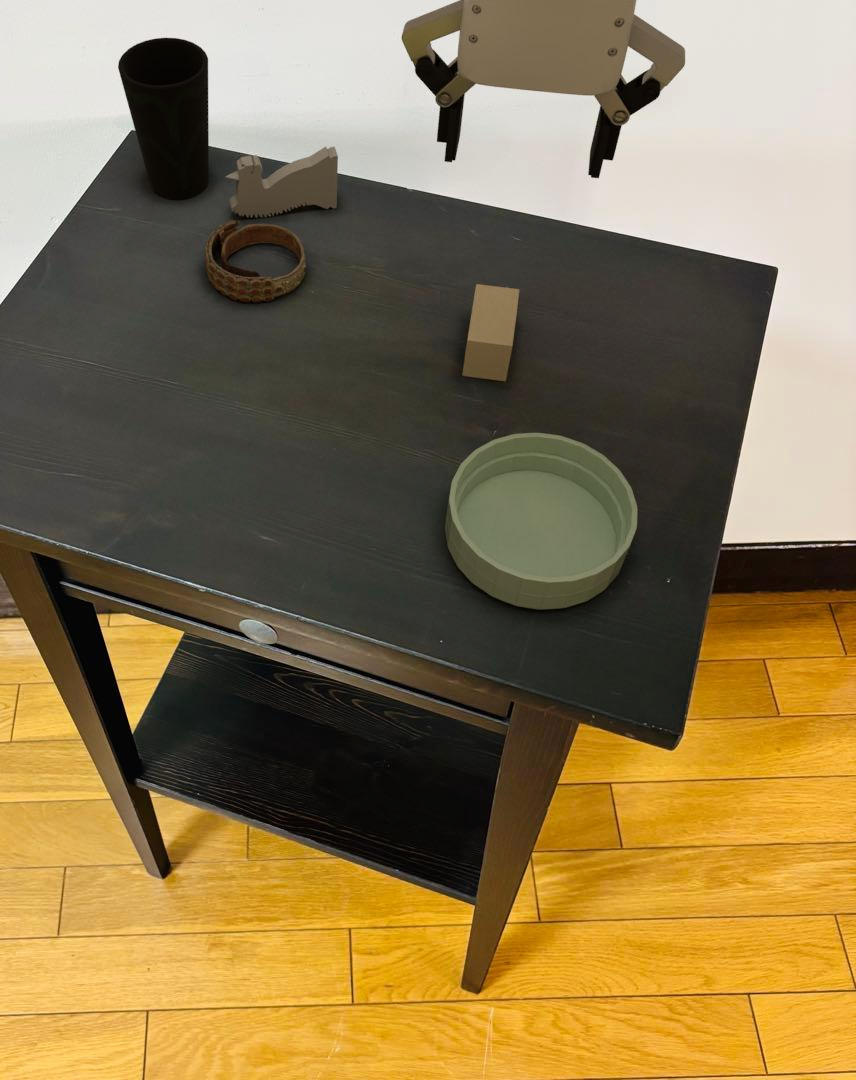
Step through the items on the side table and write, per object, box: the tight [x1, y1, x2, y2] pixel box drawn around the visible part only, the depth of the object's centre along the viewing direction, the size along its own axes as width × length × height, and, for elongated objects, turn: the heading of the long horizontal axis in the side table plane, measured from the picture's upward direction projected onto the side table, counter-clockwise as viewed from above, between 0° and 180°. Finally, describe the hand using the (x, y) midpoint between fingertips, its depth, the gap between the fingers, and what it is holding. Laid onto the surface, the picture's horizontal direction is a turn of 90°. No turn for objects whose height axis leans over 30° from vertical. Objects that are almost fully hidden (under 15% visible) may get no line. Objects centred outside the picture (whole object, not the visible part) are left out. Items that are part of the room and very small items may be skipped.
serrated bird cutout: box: [224, 146, 339, 219], centre depth 95 cm, size 6×1×10 cm
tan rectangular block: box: [461, 283, 520, 382], centre depth 86 cm, size 6×4×4 cm, turn 169°
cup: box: [117, 37, 210, 201], centre depth 95 cm, size 8×8×12 cm
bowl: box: [444, 432, 639, 611], centre depth 75 cm, size 13×13×4 cm
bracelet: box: [204, 219, 307, 304], centre depth 92 cm, size 9×9×3 cm
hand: (522, 157), depth 72 cm, fingers open, 9 cm apart
